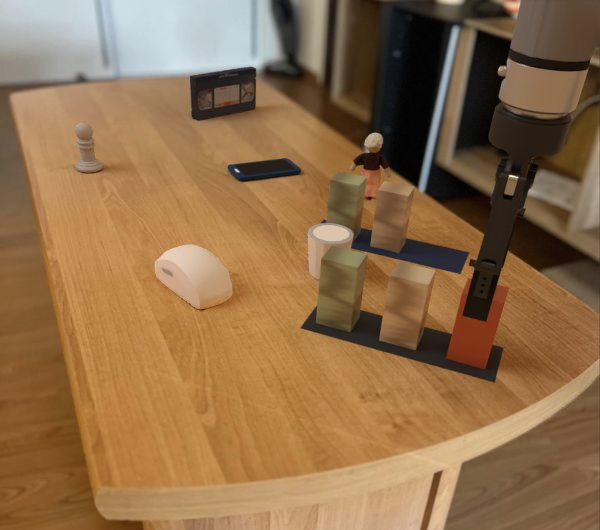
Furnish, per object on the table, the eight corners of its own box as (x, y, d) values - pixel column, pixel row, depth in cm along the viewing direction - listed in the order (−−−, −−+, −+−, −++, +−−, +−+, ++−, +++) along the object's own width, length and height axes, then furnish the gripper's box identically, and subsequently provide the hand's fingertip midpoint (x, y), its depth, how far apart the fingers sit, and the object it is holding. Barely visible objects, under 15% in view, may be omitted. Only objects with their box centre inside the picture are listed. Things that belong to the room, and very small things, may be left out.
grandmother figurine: (385, 196, 123) (395, 131, 115) (387, 204, 120) (397, 138, 112) (346, 194, 123) (353, 128, 115) (347, 202, 120) (353, 135, 112)
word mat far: (468, 254, 105) (469, 252, 105) (459, 276, 99) (460, 273, 99) (323, 221, 112) (323, 219, 112) (306, 239, 106) (306, 237, 106)
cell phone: (226, 168, 130) (226, 164, 129) (287, 160, 135) (288, 157, 134) (239, 181, 124) (239, 177, 124) (302, 173, 130) (302, 169, 129)
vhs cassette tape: (196, 121, 153) (194, 77, 147) (190, 117, 155) (187, 74, 149) (257, 109, 163) (257, 68, 157) (250, 106, 165) (250, 65, 159)
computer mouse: (187, 263, 98) (184, 226, 94) (238, 299, 91) (238, 261, 87) (150, 276, 94) (147, 238, 91) (201, 315, 87) (199, 275, 83)
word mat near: (502, 349, 84) (503, 347, 84) (493, 384, 78) (494, 382, 78) (320, 301, 91) (321, 299, 91) (299, 330, 85) (300, 328, 85)
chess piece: (97, 174, 124) (91, 128, 118) (71, 172, 124) (63, 125, 119) (107, 164, 128) (101, 119, 123) (82, 162, 128) (74, 117, 123)
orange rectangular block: (489, 352, 83) (509, 287, 77) (485, 369, 80) (504, 303, 74) (452, 342, 84) (468, 277, 78) (446, 359, 81) (462, 292, 75)
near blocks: (422, 334, 85) (436, 270, 79) (415, 350, 82) (429, 284, 76) (325, 308, 89) (331, 245, 83) (315, 323, 86) (320, 258, 80)
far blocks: (405, 243, 106) (414, 186, 100) (399, 253, 103) (408, 195, 97) (332, 226, 110) (338, 171, 104) (325, 236, 107) (329, 179, 101)
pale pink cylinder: (299, 279, 96) (301, 237, 92) (312, 259, 101) (315, 218, 97) (342, 288, 94) (346, 247, 90) (354, 267, 100) (359, 227, 95)
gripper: (512, 75, 73) (471, 239, 86) (476, 136, 55) (430, 334, 68) (579, 85, 71) (527, 252, 84) (565, 152, 53) (501, 353, 65)
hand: (484, 289), depth 76 cm, fingers open, 13 cm apart
